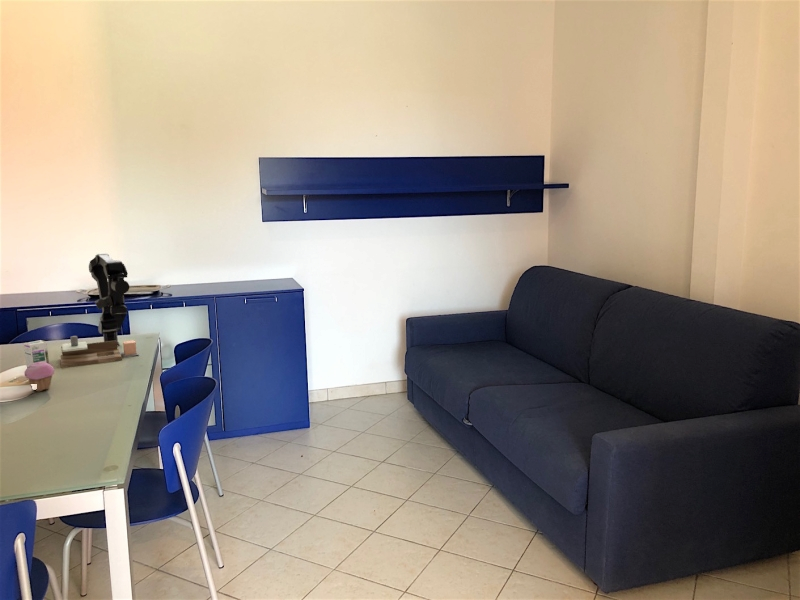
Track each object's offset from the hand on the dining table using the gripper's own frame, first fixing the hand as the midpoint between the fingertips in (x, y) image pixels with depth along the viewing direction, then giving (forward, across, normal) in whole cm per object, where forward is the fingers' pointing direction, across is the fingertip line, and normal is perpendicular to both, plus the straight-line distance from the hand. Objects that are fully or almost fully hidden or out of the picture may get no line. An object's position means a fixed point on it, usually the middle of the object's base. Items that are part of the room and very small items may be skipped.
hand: (118, 325), depth 260 cm
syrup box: (+11, +30, -30) cm, 44 cm away
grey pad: (+12, +8, +3) cm, 14 cm away
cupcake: (+11, +44, -29) cm, 54 cm away
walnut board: (+12, +7, -12) cm, 18 cm away
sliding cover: (+6, +5, -18) cm, 19 cm away
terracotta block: (+11, +7, +3) cm, 14 cm away
